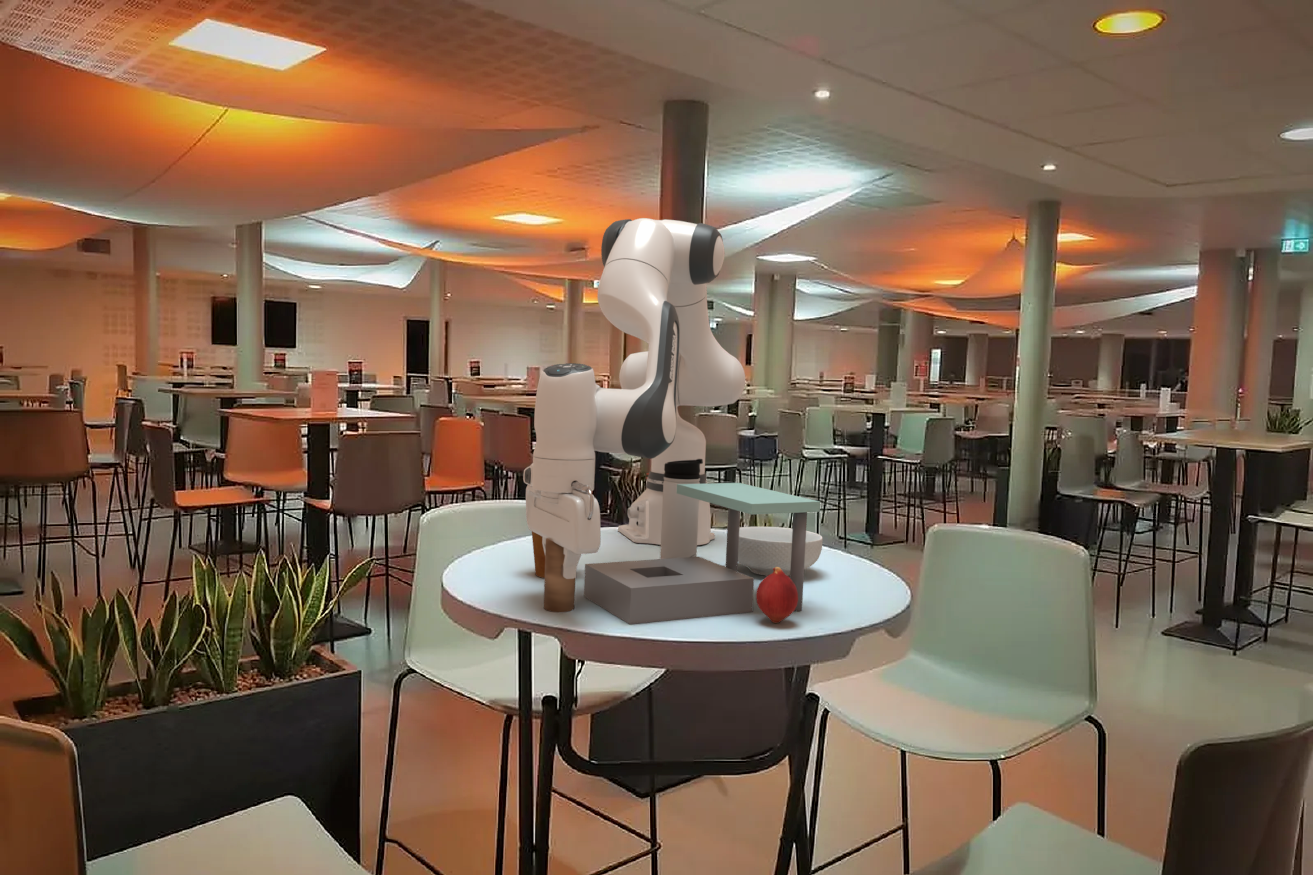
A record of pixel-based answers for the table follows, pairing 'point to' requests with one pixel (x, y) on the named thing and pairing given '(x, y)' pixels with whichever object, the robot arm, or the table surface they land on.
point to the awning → (758, 503)
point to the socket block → (667, 589)
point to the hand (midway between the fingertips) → (560, 572)
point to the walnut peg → (557, 581)
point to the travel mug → (679, 510)
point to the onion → (777, 596)
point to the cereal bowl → (774, 549)
